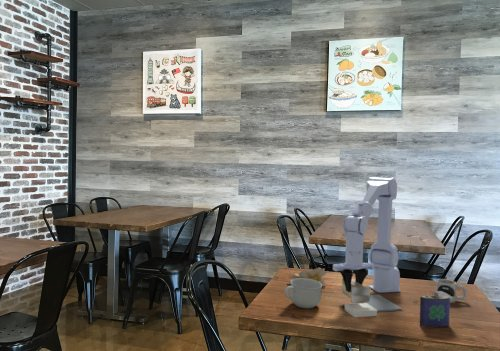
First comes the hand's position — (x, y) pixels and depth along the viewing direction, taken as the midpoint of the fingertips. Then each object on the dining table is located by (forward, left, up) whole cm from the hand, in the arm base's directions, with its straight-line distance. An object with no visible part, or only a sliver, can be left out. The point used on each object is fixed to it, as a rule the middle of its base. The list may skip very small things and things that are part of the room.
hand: (353, 291), depth 145 cm
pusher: (0, 0, -2) cm, 2 cm away
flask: (-17, +20, -6) cm, 27 cm away
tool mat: (-10, -1, -5) cm, 11 cm away
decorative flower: (+5, -27, -6) cm, 28 cm away
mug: (-39, 0, -6) cm, 39 cm away
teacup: (+17, -4, -6) cm, 18 cm away
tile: (0, +2, -5) cm, 5 cm away
